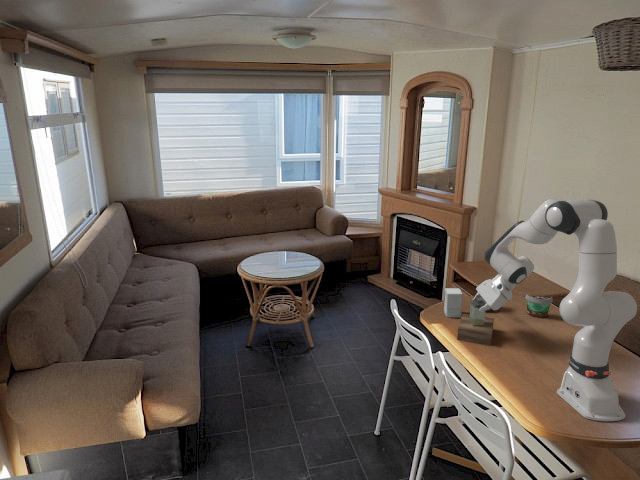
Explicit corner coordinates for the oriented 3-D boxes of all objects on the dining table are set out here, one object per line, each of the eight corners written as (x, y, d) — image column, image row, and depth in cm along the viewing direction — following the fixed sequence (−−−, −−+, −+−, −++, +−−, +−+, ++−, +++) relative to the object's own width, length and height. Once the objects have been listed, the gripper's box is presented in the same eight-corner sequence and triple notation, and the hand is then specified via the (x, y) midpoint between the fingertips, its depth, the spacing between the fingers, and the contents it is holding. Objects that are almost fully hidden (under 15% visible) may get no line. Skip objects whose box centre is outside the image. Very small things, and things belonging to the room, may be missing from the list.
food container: (524, 317, 227) (527, 298, 224) (523, 312, 233) (525, 293, 230) (552, 320, 224) (555, 301, 221) (550, 314, 229) (553, 296, 227)
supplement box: (458, 311, 235) (460, 288, 231) (461, 317, 228) (463, 294, 224) (443, 310, 236) (445, 287, 232) (445, 317, 229) (447, 293, 225)
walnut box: (490, 346, 202) (491, 333, 200) (457, 340, 207) (458, 328, 206) (492, 330, 216) (493, 318, 214) (461, 325, 221) (462, 313, 220)
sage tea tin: (484, 325, 207) (486, 305, 205) (472, 326, 207) (474, 305, 205) (480, 320, 212) (482, 300, 210) (468, 320, 212) (470, 300, 210)
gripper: (487, 272, 214) (465, 292, 217) (504, 290, 194) (478, 311, 197) (496, 281, 215) (473, 301, 218) (514, 299, 196) (488, 321, 199)
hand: (476, 306), depth 208 cm, fingers open, 8 cm apart
